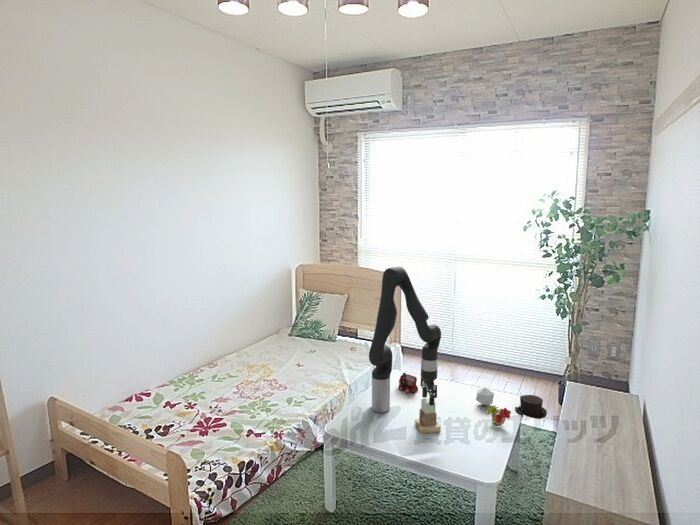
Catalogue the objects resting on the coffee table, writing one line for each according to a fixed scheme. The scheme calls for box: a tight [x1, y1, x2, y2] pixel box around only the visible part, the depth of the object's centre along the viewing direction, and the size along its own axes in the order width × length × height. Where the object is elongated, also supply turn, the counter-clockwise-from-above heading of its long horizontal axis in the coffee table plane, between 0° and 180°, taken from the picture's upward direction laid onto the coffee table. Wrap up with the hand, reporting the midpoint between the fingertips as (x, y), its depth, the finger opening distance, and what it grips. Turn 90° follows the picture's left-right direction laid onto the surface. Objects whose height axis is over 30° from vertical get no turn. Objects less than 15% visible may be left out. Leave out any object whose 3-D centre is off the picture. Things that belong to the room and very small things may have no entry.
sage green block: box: [420, 397, 437, 414], centre depth 212 cm, size 5×5×5 cm
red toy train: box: [397, 372, 419, 395], centre depth 255 cm, size 7×12×10 cm, turn 39°
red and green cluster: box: [486, 405, 512, 426], centre depth 217 cm, size 6×11×9 cm, turn 44°
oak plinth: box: [414, 418, 442, 435], centre depth 213 cm, size 9×9×2 cm
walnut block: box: [418, 408, 438, 427], centre depth 213 cm, size 6×6×6 cm
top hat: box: [514, 391, 548, 420], centre depth 230 cm, size 15×15×10 cm
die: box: [475, 387, 495, 406], centre depth 236 cm, size 8×9×10 cm
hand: (428, 401), depth 212 cm, fingers open, 8 cm apart
